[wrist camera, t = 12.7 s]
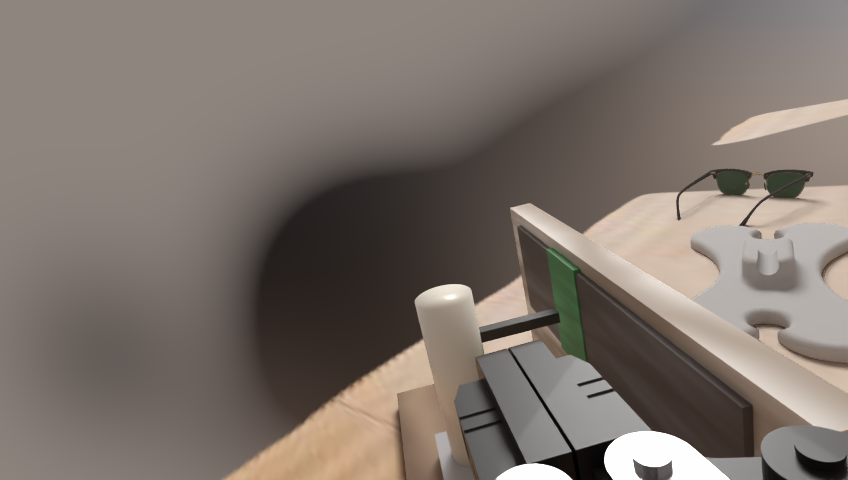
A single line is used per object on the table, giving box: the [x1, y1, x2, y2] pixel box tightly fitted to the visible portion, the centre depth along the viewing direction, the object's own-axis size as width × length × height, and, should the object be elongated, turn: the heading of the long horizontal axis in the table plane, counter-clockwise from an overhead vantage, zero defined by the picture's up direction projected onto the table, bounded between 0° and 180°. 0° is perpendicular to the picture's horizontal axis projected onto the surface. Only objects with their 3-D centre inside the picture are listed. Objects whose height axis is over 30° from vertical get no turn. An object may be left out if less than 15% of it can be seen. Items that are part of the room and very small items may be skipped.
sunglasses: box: [676, 169, 813, 226], centre depth 85 cm, size 16×17×5 cm
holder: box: [690, 223, 848, 363], centre depth 59 cm, size 19×34×5 cm, turn 147°
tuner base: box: [397, 203, 848, 480], centre depth 33 cm, size 17×34×18 cm, turn 7°
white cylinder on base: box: [415, 284, 560, 480], centre depth 37 cm, size 11×6×15 cm, turn 97°
